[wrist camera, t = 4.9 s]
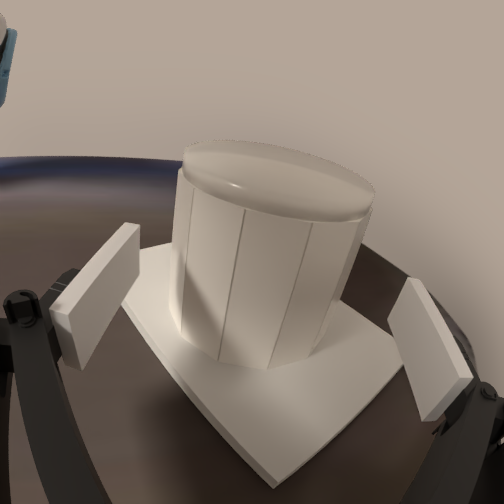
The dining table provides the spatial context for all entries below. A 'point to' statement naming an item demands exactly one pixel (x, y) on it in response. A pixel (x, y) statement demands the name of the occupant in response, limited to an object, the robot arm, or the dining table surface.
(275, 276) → the white container
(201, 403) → the white mat
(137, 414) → the dining table surface
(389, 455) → the dining table surface
